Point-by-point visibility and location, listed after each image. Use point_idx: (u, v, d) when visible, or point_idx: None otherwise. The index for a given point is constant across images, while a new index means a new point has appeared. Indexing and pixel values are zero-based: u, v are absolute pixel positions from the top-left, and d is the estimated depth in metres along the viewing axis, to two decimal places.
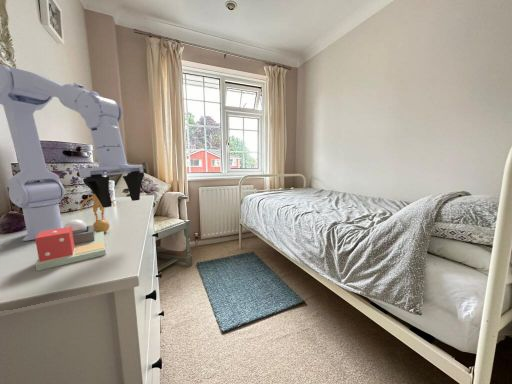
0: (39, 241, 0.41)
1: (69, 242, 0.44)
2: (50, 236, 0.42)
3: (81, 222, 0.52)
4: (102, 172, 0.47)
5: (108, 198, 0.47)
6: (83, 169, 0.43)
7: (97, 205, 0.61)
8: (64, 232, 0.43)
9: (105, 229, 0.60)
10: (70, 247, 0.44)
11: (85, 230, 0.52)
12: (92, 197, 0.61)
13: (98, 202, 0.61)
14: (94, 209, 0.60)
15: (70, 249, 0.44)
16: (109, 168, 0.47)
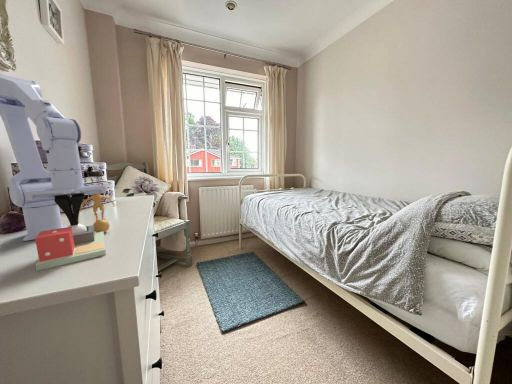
0: (39, 241, 0.41)
1: (69, 242, 0.44)
2: (50, 236, 0.42)
3: (82, 226, 0.52)
4: (51, 194, 0.48)
5: (69, 218, 0.50)
6: (24, 192, 0.45)
7: (97, 205, 0.61)
8: (64, 232, 0.43)
9: (105, 229, 0.60)
10: (70, 247, 0.44)
11: None
12: (92, 197, 0.61)
13: (98, 202, 0.61)
14: (94, 209, 0.60)
15: (70, 249, 0.44)
16: (51, 192, 0.47)
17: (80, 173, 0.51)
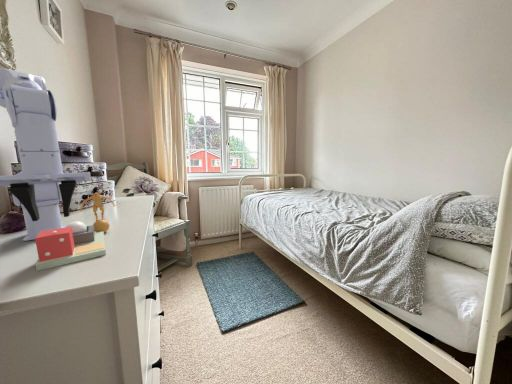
0: (39, 241, 0.41)
1: (69, 242, 0.44)
2: (50, 236, 0.42)
3: (81, 224, 0.52)
4: (21, 181, 0.40)
5: (30, 212, 0.40)
6: None
7: (97, 205, 0.61)
8: (64, 232, 0.43)
9: (105, 229, 0.60)
10: (70, 247, 0.44)
11: None
12: (92, 197, 0.61)
13: (98, 202, 0.61)
14: (94, 209, 0.60)
15: (70, 249, 0.44)
16: (21, 178, 0.38)
17: (58, 156, 0.42)
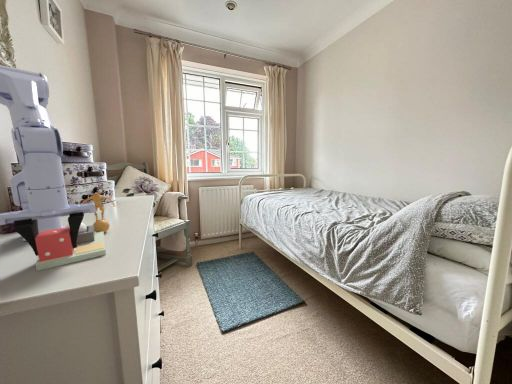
0: (39, 241, 0.41)
1: (69, 242, 0.44)
2: (50, 236, 0.42)
3: (81, 224, 0.52)
4: (28, 217, 0.41)
5: (34, 247, 0.41)
6: None
7: (97, 205, 0.61)
8: (64, 232, 0.43)
9: (105, 229, 0.60)
10: (70, 247, 0.44)
11: None
12: (92, 197, 0.61)
13: (98, 202, 0.61)
14: None
15: (70, 249, 0.44)
16: (28, 215, 0.40)
17: (64, 191, 0.43)
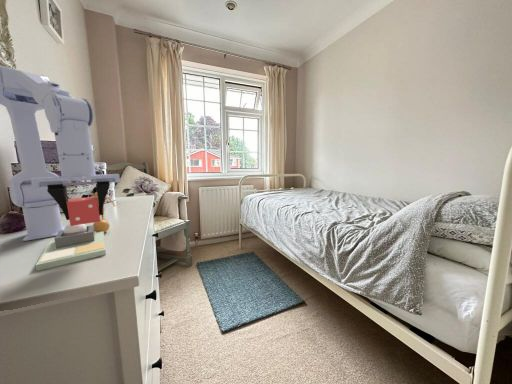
0: (70, 206, 0.43)
1: (97, 209, 0.46)
2: (80, 202, 0.44)
3: (81, 224, 0.52)
4: (60, 182, 0.43)
5: (65, 211, 0.43)
6: (31, 179, 0.40)
7: None
8: (92, 199, 0.46)
9: (105, 229, 0.60)
10: (98, 214, 0.46)
11: None
12: None
13: None
14: None
15: (98, 216, 0.46)
16: (61, 180, 0.42)
17: (92, 159, 0.45)
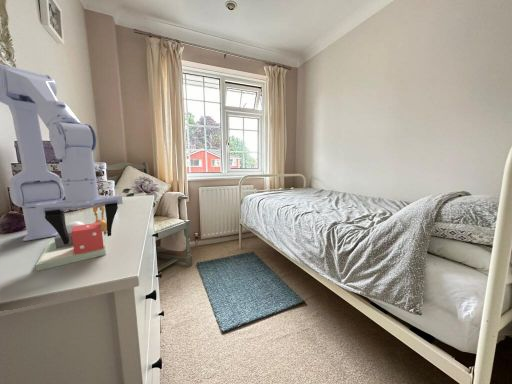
0: (75, 235, 0.44)
1: (101, 236, 0.47)
2: (84, 230, 0.45)
3: (81, 224, 0.52)
4: (64, 207, 0.44)
5: (62, 236, 0.44)
6: (36, 206, 0.41)
7: None
8: (96, 227, 0.47)
9: (105, 229, 0.60)
10: (101, 241, 0.47)
11: None
12: None
13: None
14: (94, 209, 0.60)
15: (101, 243, 0.47)
16: (65, 205, 0.43)
17: (95, 183, 0.46)
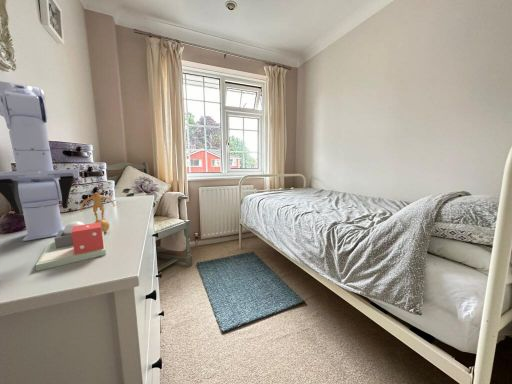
0: (75, 235, 0.44)
1: (101, 236, 0.47)
2: (84, 230, 0.45)
3: (81, 224, 0.52)
4: (15, 177, 0.45)
5: (13, 205, 0.44)
6: None
7: (97, 205, 0.61)
8: (96, 227, 0.47)
9: (105, 229, 0.60)
10: (101, 241, 0.47)
11: None
12: (92, 197, 0.61)
13: (98, 202, 0.61)
14: (94, 209, 0.60)
15: (101, 243, 0.47)
16: (14, 174, 0.43)
17: (48, 155, 0.47)
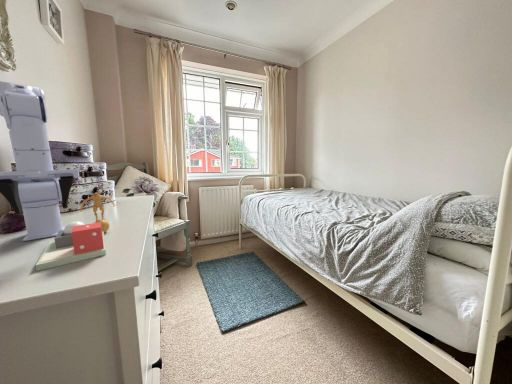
0: (75, 235, 0.44)
1: (101, 236, 0.47)
2: (84, 230, 0.45)
3: (81, 224, 0.52)
4: (15, 177, 0.45)
5: (13, 205, 0.44)
6: None
7: (97, 205, 0.61)
8: (96, 227, 0.47)
9: (105, 229, 0.60)
10: (101, 241, 0.47)
11: None
12: (92, 197, 0.61)
13: (98, 202, 0.61)
14: (94, 209, 0.60)
15: (101, 243, 0.47)
16: (14, 174, 0.43)
17: (48, 155, 0.47)
